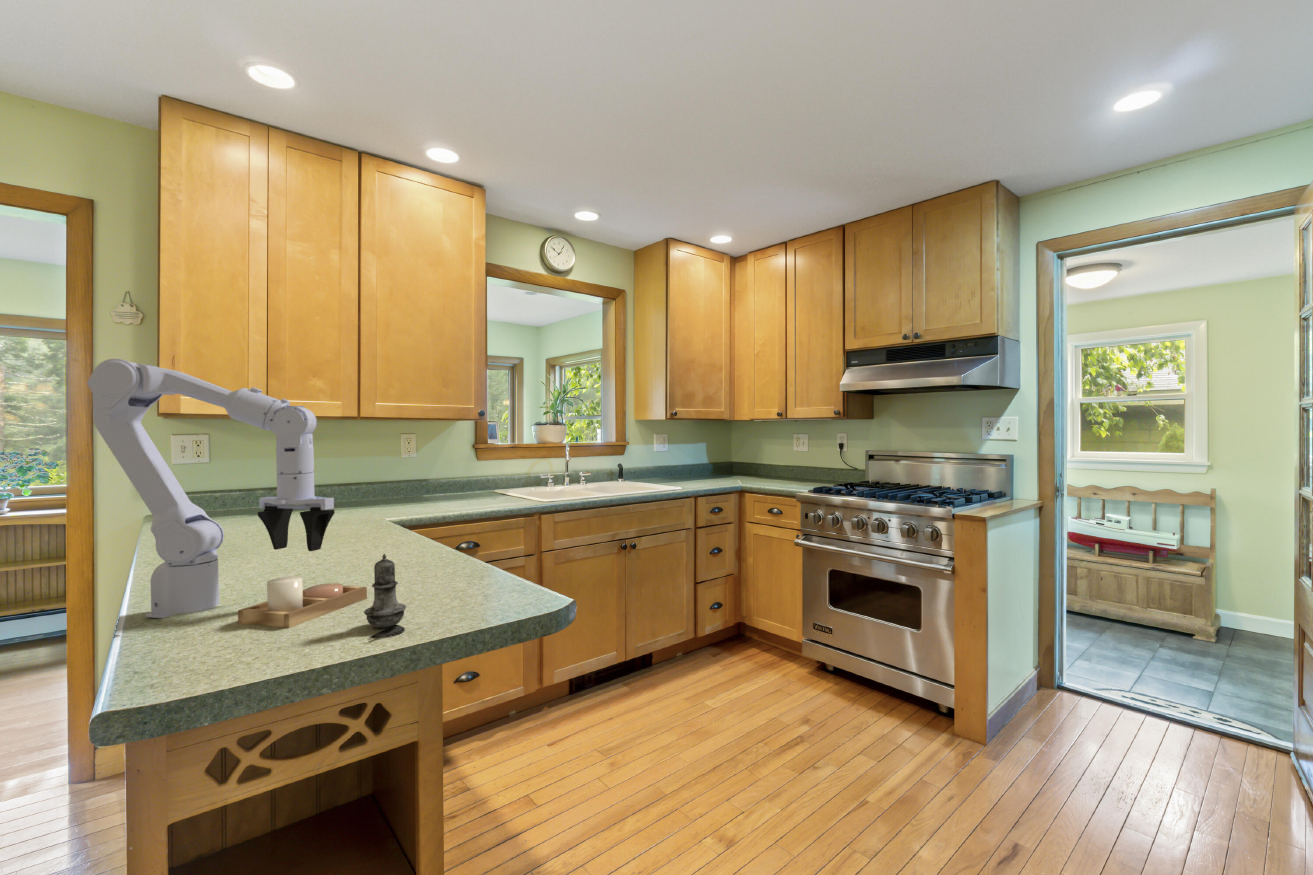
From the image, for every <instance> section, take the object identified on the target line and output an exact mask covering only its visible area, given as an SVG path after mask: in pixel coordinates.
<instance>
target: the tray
mask: <svg viewBox="0 0 1313 875" xmlns="http://www.w3.org/2000/svg"><path fill="white" fill-rule="evenodd" d="M367 588H368V587H367V586H357V585H356V586H355V585H343V594H340V595H337V596H334V597H331V598H329V599H328V598H314V597H306V589H307V588H305V589H304V588H303V608H300V609H297V610H294V611H291V612H282V611H270V610H268V603H267V600H266V601H263V602H259V603H257V604H253V605H250V606H247V607H244V608H240V609H237V623H238V624H240V625H251V626H261V627H262V626H264V627H266V626H267V627H274V628H286V629H291V628H293V627H296V626H298V625H301V624H304V623H307V622H309V621H311V620H314V619H317V618H320V617H323V616H324V615H328V614H330V613H333V612H335V611H338V610H340V609H341V610H342V609H343V608H346V607H348V606H352V605H354V604H356V603H359V602H362V601H364V600H366V599H367V600H368V589H367Z"/></svg>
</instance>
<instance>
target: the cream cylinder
mask: <svg viewBox="0 0 1313 875" xmlns="http://www.w3.org/2000/svg"><path fill="white" fill-rule="evenodd" d="M303 590H304V588H303V577H302V576H298V575H297V576H295V575H293V576H292V575H291V576H283V577H276V578H273V579H270V580H268V581H266V591H267V592H266V594H267V596H266V597H267V598H266V599H267V600H266V601H267V603H268V610H270V611H282V612H291V611H294V610H297V609H300V608H303Z"/></svg>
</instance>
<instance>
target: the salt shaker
mask: <svg viewBox="0 0 1313 875" xmlns="http://www.w3.org/2000/svg"><path fill="white" fill-rule="evenodd" d="M387 557H388V556H387V555H386V554H385V553H383V554H382V556H381V559H380V560H378V561H377V562H375V564H374V566H373V569H374V570H373V572H374V574H373V575H374V583H372V584H371V587H372V588H373V592H374V594H373V595H374V598H373V603H372V605H371V606H370V607H368V608H366V609H365V610H364V611H363V614H364V615H366V620H367V622H368V624H369V625H370V626H372V627H373V628H378V629H383V630H381V631H379V632H376V633H375V634H371V635H370V636H368V638H370V639H387V638H392V637H395V636H399V635H401V634H402V633H404V632H405V629H406V628H405V627H404V626H401V625H400V624H399V623H400V621H401V620H403V617H404V616H405V610H406V609H407V605H406V604H404V603H399V602H398V599H397V591H396V590H397V589H396V588H397V585H398V584H399V583H398V581H396V572H395V571H396V566H395V563H394V561H393V560H391V559H388V558H387ZM401 622H402V621H401Z"/></svg>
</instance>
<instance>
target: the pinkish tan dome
mask: <svg viewBox="0 0 1313 875" xmlns="http://www.w3.org/2000/svg"><path fill="white" fill-rule="evenodd" d="M343 586H344V585H343V583H336V582H335V583H334V582H332V583H331V582H328V583H321V584H316V585H311V586H310V587H307V588H305V589H306V597H314V598H328V599H329V598H331V597H334V596H337V595H340V594H343Z"/></svg>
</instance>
